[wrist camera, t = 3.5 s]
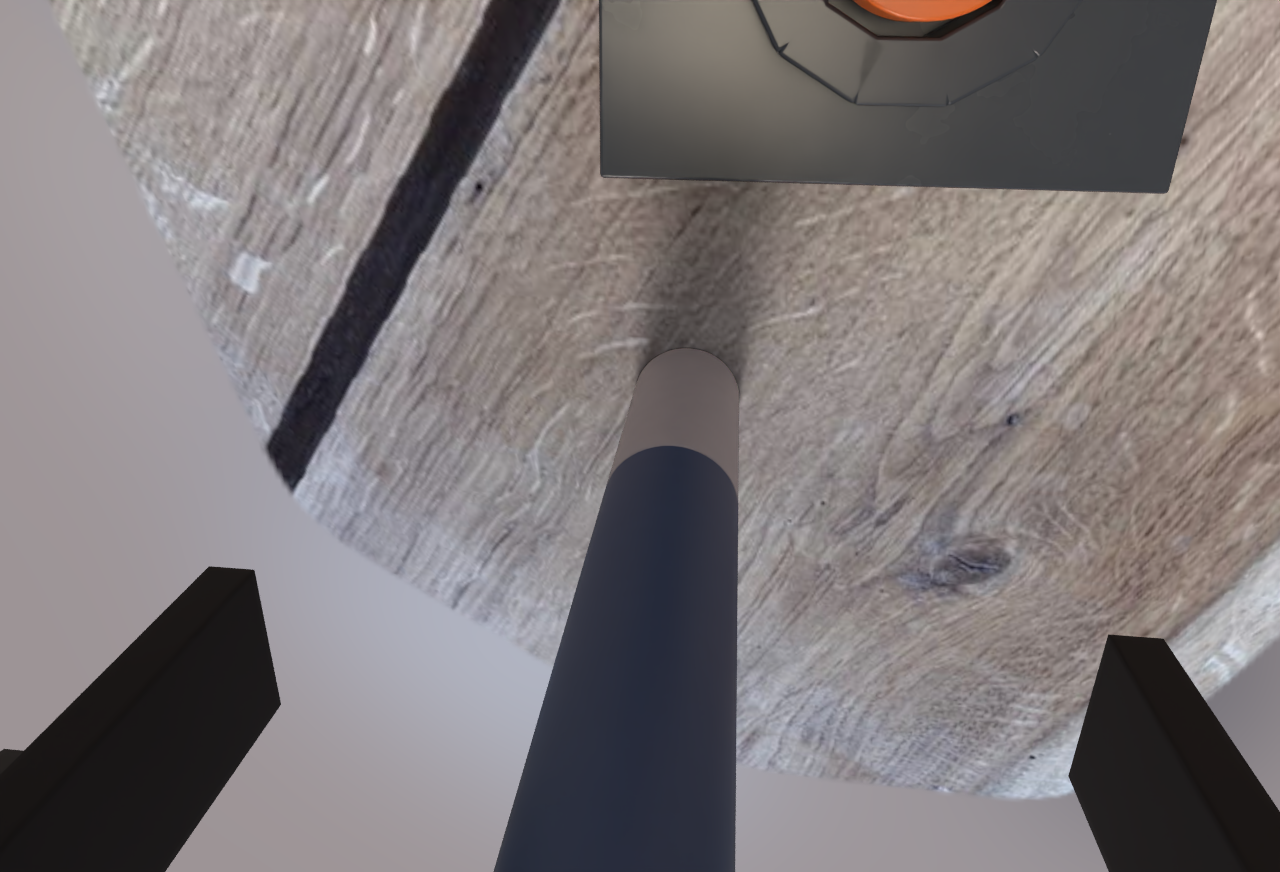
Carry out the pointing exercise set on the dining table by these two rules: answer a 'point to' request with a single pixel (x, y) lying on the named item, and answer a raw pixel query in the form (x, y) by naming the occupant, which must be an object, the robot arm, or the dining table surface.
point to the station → (900, 93)
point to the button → (920, 9)
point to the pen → (647, 651)
